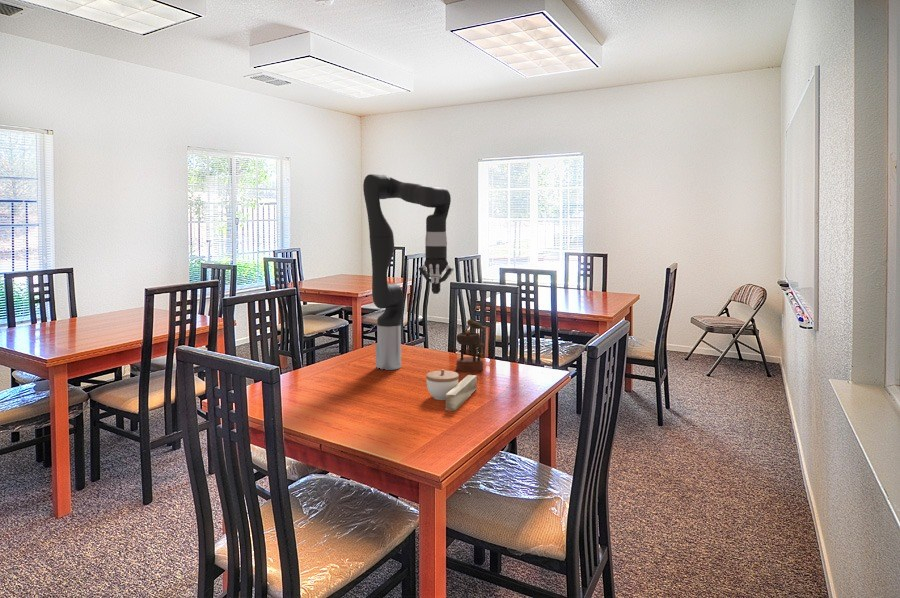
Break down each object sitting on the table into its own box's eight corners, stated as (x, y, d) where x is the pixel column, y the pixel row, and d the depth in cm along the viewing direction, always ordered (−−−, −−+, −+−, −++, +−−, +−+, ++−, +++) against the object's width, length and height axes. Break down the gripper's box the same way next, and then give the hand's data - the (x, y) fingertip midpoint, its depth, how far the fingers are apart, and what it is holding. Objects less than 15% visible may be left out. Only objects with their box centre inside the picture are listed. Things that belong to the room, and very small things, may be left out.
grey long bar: (445, 410, 177) (445, 394, 177) (468, 388, 200) (468, 374, 199) (455, 411, 176) (455, 395, 176) (476, 389, 199) (476, 375, 198)
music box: (487, 365, 232) (487, 317, 228) (487, 375, 221) (487, 324, 217) (449, 364, 233) (449, 316, 229) (447, 374, 222) (447, 324, 218)
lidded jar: (425, 392, 195) (425, 365, 194) (457, 392, 196) (457, 365, 195) (426, 402, 185) (426, 374, 183) (460, 402, 185) (460, 373, 184)
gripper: (414, 244, 202) (414, 294, 204) (450, 245, 198) (450, 295, 200) (422, 244, 209) (422, 291, 211) (457, 244, 205) (456, 293, 207)
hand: (436, 293), depth 206 cm, fingers closed
